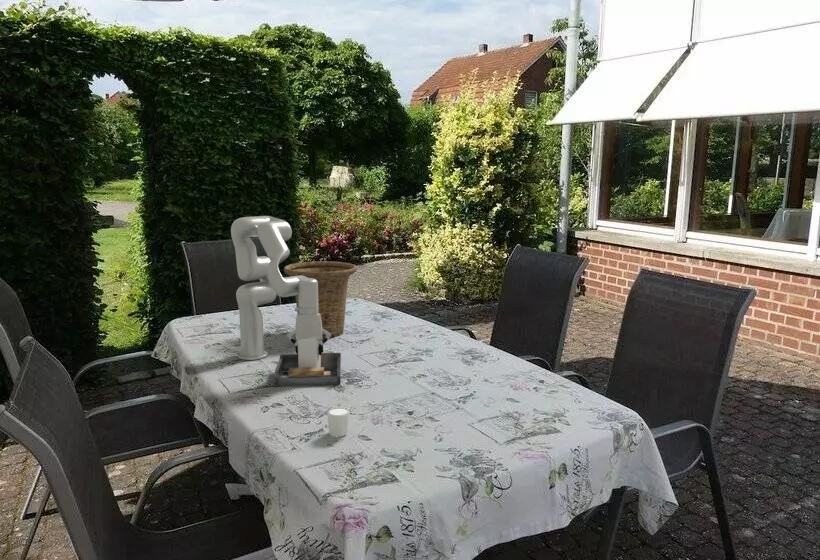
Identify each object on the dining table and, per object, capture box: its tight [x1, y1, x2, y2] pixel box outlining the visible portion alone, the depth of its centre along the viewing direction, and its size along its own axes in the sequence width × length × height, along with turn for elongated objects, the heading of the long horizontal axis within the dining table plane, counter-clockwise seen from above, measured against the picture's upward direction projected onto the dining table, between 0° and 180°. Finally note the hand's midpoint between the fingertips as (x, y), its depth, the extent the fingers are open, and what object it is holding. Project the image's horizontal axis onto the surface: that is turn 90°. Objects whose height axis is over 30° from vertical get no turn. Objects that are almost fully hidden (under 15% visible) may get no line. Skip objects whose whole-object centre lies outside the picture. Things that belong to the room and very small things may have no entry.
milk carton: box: [298, 337, 321, 368], centre depth 242 cm, size 7×7×19 cm
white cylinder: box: [326, 407, 351, 437], centre depth 190 cm, size 7×7×7 cm
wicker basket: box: [283, 260, 358, 339], centre depth 304 cm, size 35×35×33 cm
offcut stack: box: [288, 367, 332, 377], centre depth 236 cm, size 16×5×5 cm, turn 95°
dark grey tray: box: [274, 352, 342, 387], centre depth 241 cm, size 24×18×7 cm
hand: (309, 354), depth 242 cm, fingers closed on milk carton, 8 cm apart
